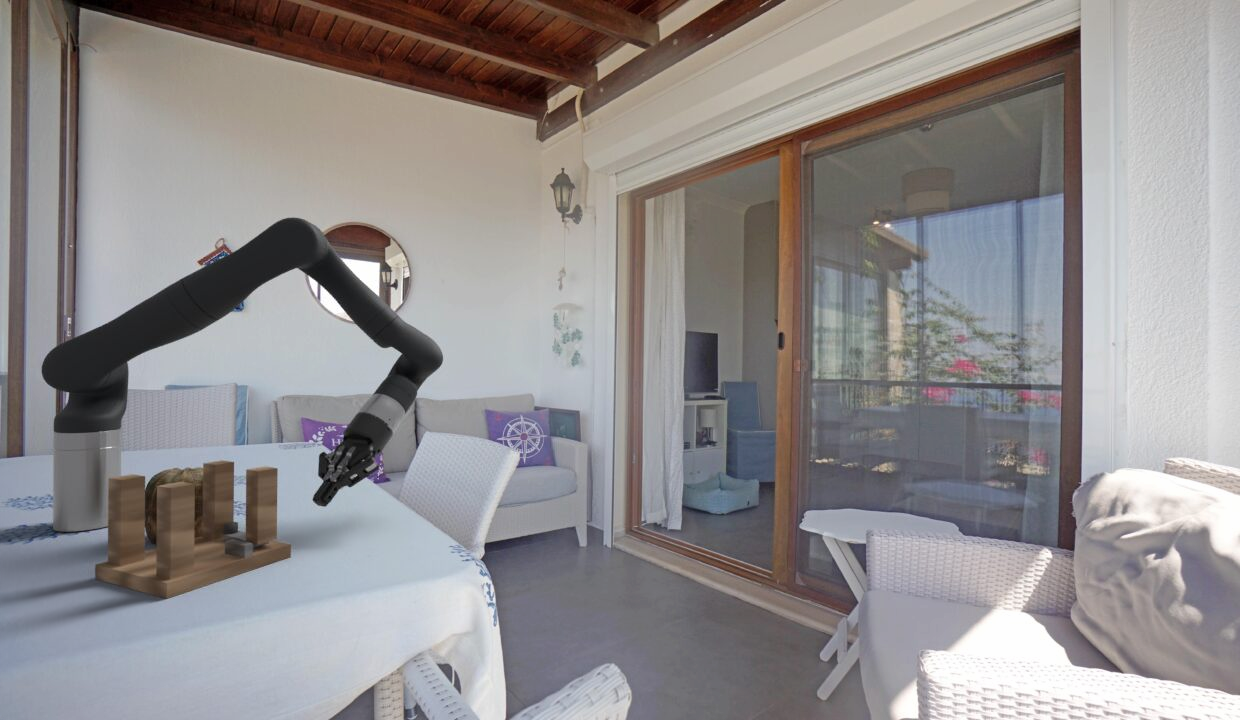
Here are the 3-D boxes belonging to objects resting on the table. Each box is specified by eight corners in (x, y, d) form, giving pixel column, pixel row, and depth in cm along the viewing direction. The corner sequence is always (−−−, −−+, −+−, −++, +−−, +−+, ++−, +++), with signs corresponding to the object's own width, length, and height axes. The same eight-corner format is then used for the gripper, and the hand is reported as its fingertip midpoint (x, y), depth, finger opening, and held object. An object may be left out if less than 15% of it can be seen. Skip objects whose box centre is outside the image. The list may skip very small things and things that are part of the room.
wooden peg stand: (95, 578, 85) (95, 478, 85) (223, 542, 102) (223, 458, 102) (166, 598, 79) (167, 490, 79) (290, 556, 95) (291, 467, 95)
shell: (180, 549, 98) (181, 475, 98) (124, 544, 100) (125, 471, 100) (235, 530, 109) (236, 463, 108) (184, 526, 111) (184, 460, 111)
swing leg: (217, 539, 96) (217, 464, 96) (236, 534, 99) (237, 461, 99) (257, 549, 92) (258, 471, 91) (276, 544, 94) (277, 468, 94)
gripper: (337, 408, 114) (277, 487, 103) (392, 412, 109) (334, 495, 98) (359, 433, 119) (304, 511, 108) (412, 439, 114) (360, 520, 103)
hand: (318, 503), depth 103 cm, fingers closed
